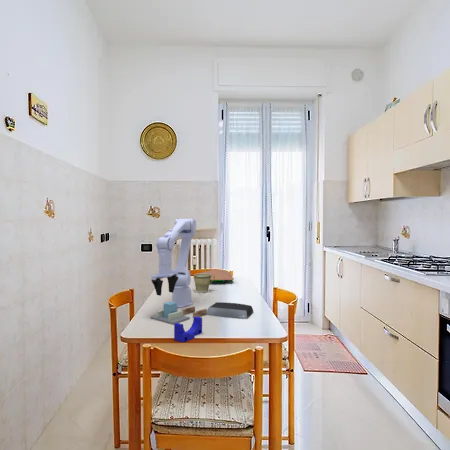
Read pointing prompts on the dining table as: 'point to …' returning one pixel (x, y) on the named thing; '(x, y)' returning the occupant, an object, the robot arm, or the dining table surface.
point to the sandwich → (219, 275)
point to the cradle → (192, 310)
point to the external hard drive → (230, 310)
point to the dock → (170, 317)
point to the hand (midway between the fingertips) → (165, 293)
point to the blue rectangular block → (169, 308)
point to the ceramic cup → (202, 282)
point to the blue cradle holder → (190, 334)
